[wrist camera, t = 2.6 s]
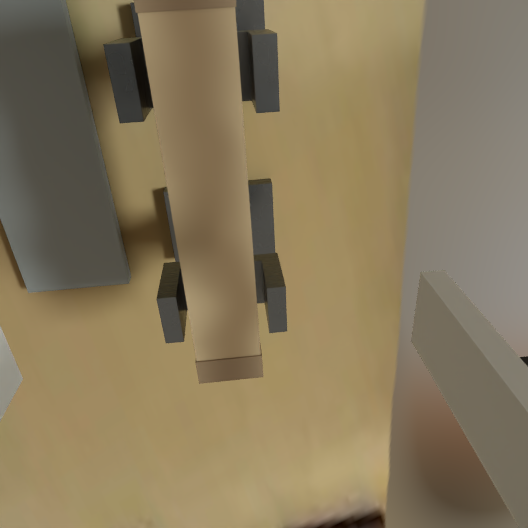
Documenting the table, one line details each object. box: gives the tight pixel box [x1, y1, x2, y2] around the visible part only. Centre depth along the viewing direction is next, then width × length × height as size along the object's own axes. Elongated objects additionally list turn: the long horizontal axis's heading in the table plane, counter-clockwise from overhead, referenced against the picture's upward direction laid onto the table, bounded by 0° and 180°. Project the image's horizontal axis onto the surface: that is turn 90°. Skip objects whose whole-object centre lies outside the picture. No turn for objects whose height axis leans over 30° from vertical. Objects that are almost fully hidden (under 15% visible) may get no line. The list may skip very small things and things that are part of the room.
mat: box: [0, 0, 131, 293], centre depth 31 cm, size 21×8×1 cm, turn 3°
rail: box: [134, 0, 263, 384], centre depth 22 cm, size 4×20×4 cm, turn 3°
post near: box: [103, 0, 280, 123], centre depth 24 cm, size 8×6×13 cm
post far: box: [157, 179, 287, 343], centre depth 30 cm, size 8×6×13 cm
